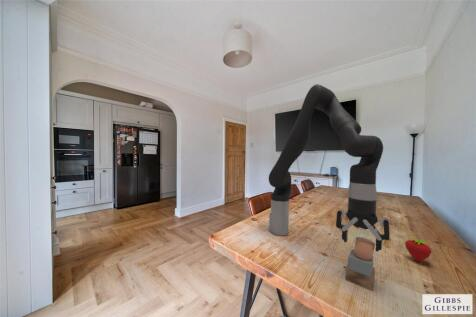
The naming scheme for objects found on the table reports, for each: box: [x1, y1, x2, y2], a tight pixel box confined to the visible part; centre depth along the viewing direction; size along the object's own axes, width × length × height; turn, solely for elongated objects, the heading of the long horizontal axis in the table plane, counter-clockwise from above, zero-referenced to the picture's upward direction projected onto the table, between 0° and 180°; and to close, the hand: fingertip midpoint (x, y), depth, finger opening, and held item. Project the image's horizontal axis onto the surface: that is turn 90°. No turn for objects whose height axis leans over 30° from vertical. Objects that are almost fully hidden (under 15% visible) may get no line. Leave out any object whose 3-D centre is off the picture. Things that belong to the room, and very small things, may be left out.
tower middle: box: [347, 249, 374, 277], centre depth 58 cm, size 6×6×4 cm
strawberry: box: [404, 237, 432, 263], centre depth 68 cm, size 6×8×10 cm
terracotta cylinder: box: [353, 236, 376, 261], centre depth 57 cm, size 5×5×5 cm
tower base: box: [344, 264, 376, 292], centre depth 58 cm, size 7×7×4 cm
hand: (360, 245), depth 58 cm, fingers open, 8 cm apart
